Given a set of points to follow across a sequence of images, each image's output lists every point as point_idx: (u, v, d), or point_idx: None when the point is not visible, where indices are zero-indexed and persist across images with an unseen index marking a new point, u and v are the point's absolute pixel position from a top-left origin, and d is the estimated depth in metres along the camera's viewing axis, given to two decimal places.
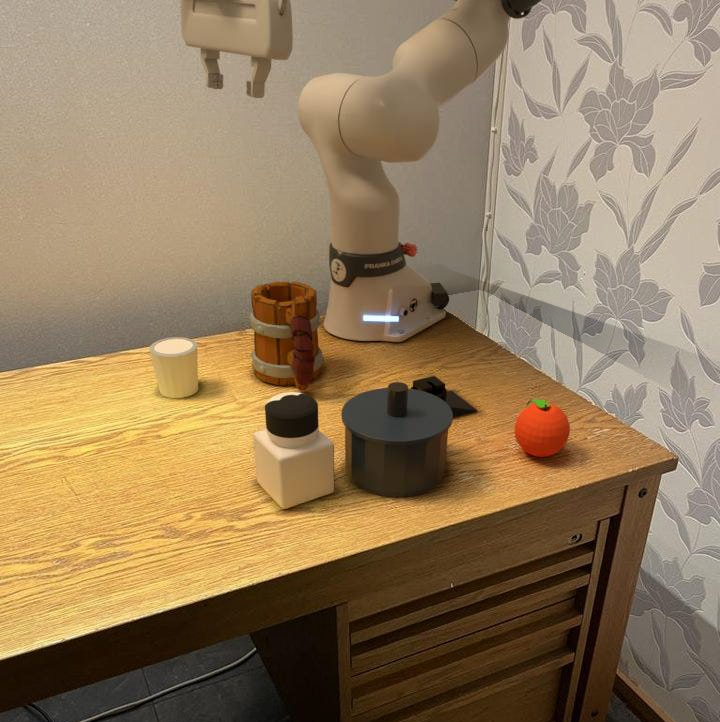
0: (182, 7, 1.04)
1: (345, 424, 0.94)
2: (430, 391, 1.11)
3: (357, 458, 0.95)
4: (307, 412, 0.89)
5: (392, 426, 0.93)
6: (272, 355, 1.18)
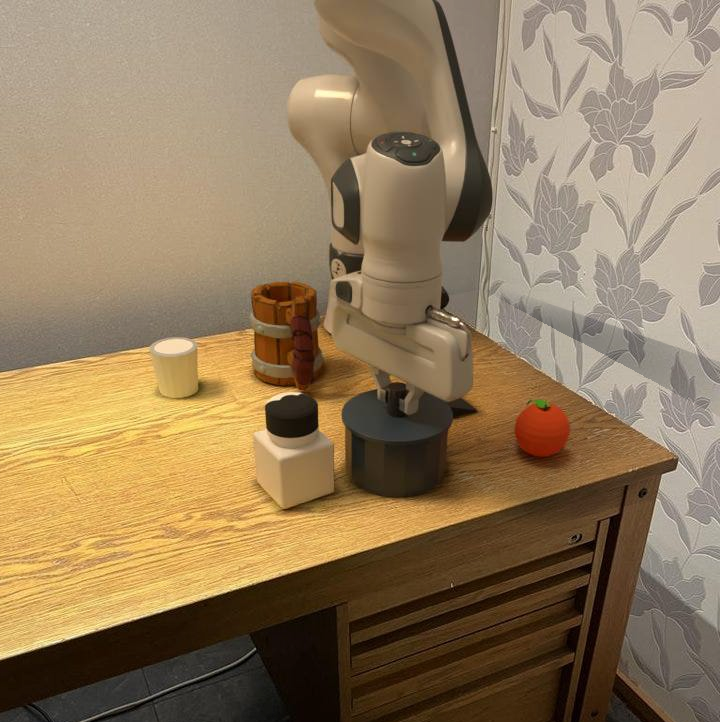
0: (334, 317, 0.95)
1: (345, 424, 0.94)
2: None
3: (357, 458, 0.95)
4: (307, 412, 0.89)
5: (392, 426, 0.93)
6: (272, 355, 1.18)
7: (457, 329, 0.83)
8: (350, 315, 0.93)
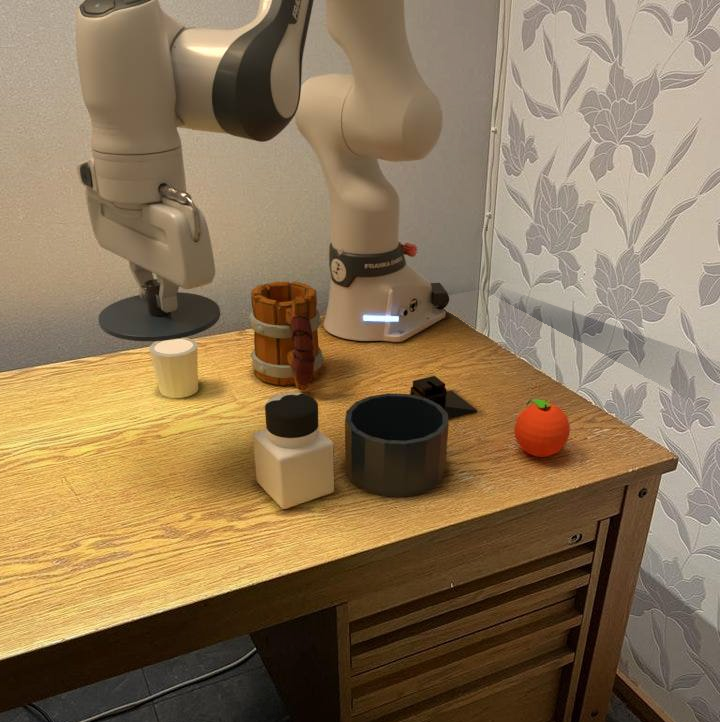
0: (89, 209, 0.89)
1: (99, 322, 0.88)
2: (430, 391, 1.11)
3: (357, 458, 0.95)
4: (307, 412, 0.89)
5: (147, 324, 0.87)
6: (272, 355, 1.18)
7: (185, 205, 0.77)
8: (103, 205, 0.87)
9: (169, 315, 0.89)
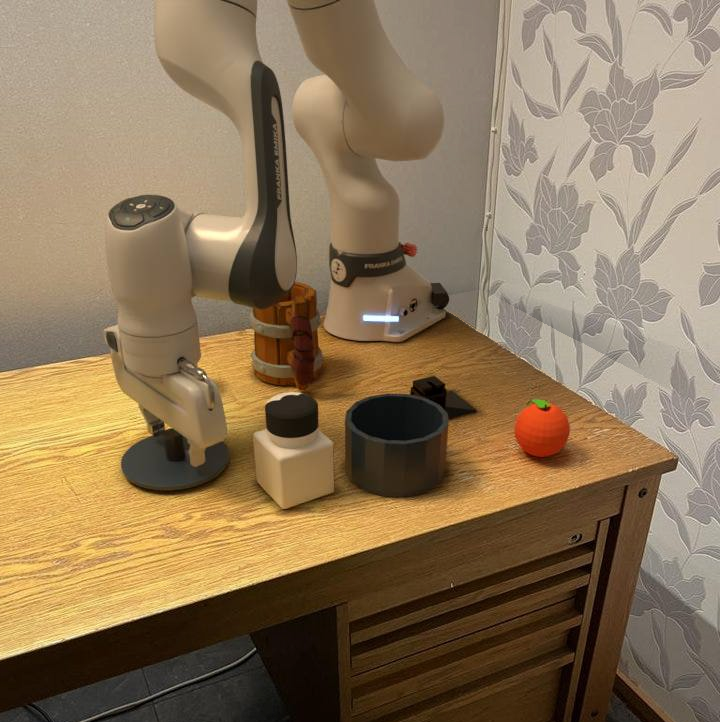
0: (114, 363, 0.99)
1: (121, 468, 0.98)
2: (430, 391, 1.11)
3: (357, 458, 0.95)
4: (307, 412, 0.89)
5: (164, 471, 0.98)
6: (272, 355, 1.18)
7: (201, 381, 0.87)
8: None
9: (184, 460, 1.00)
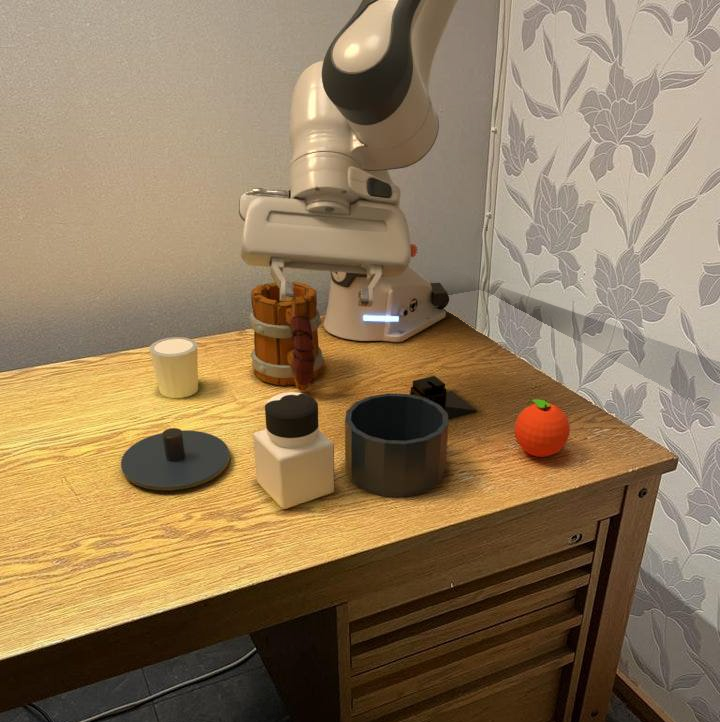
0: None
1: (121, 468, 0.98)
2: (430, 391, 1.11)
3: (357, 458, 0.95)
4: (307, 412, 0.89)
5: (164, 471, 0.98)
6: (272, 355, 1.18)
7: None
8: None
9: (184, 460, 1.00)
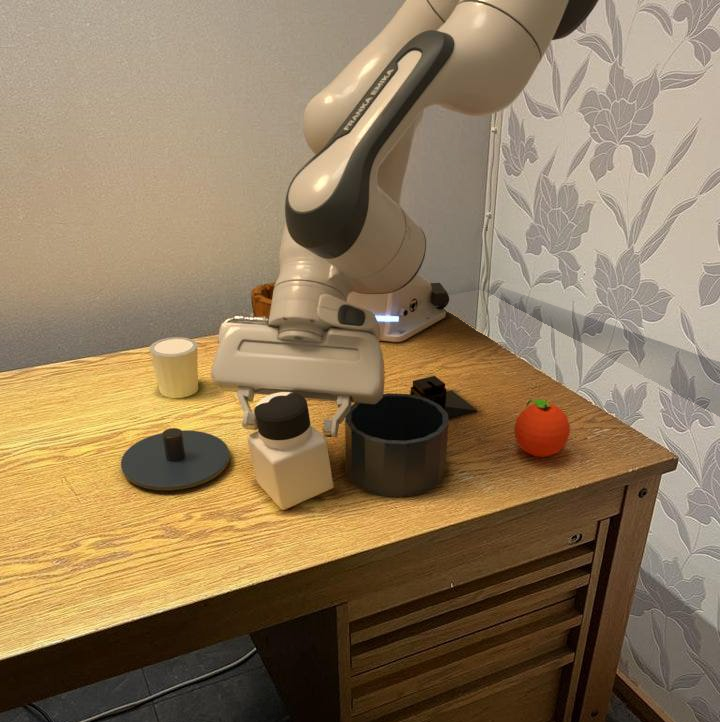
0: None
1: (121, 468, 0.98)
2: (430, 391, 1.11)
3: (357, 458, 0.95)
4: (296, 413, 0.88)
5: (164, 471, 0.98)
6: None
7: None
8: None
9: (184, 460, 1.00)
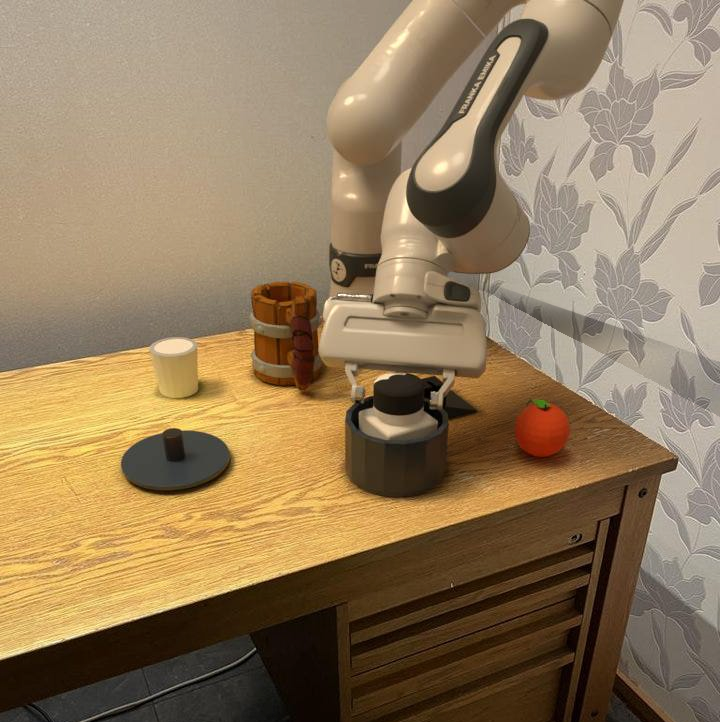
0: None
1: (121, 468, 0.98)
2: (430, 391, 1.11)
3: (357, 458, 0.95)
4: (416, 391, 0.92)
5: (164, 471, 0.98)
6: (272, 355, 1.18)
7: None
8: None
9: (184, 460, 1.00)
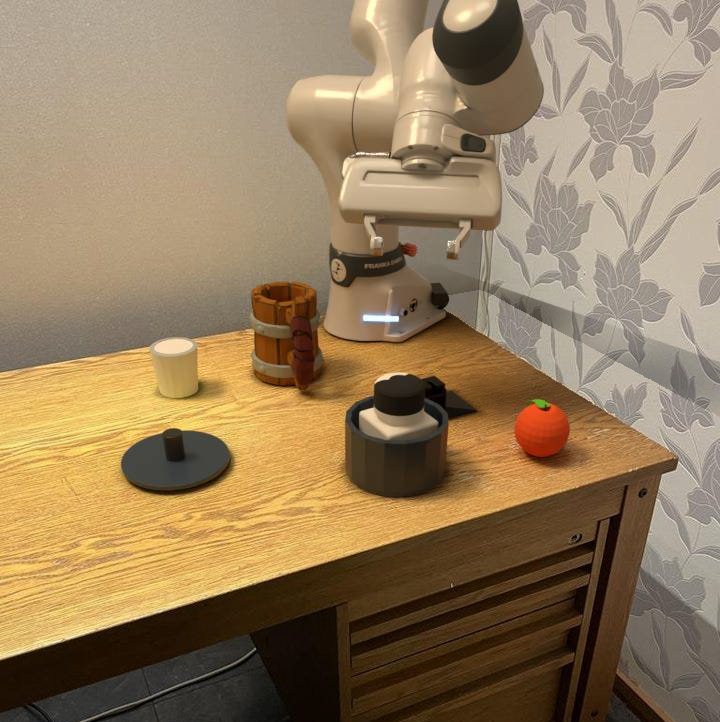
0: None
1: (121, 468, 0.98)
2: (430, 391, 1.11)
3: (357, 458, 0.95)
4: (417, 391, 0.92)
5: (164, 471, 0.98)
6: (272, 355, 1.18)
7: None
8: None
9: (184, 460, 1.00)
